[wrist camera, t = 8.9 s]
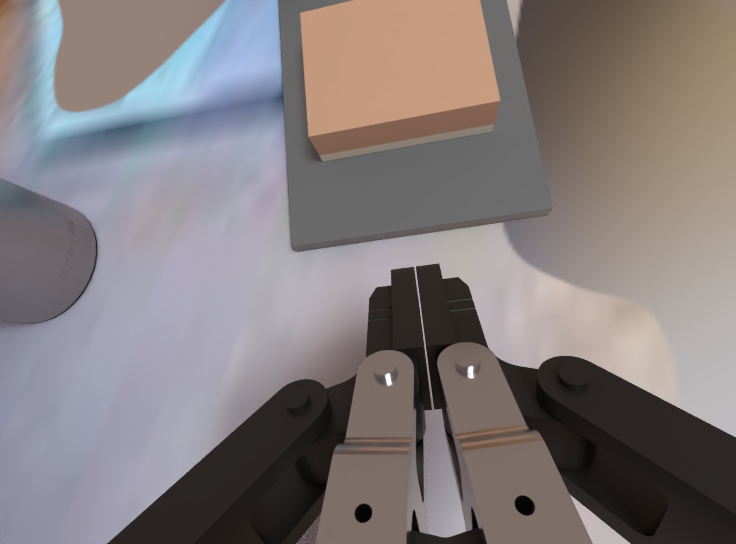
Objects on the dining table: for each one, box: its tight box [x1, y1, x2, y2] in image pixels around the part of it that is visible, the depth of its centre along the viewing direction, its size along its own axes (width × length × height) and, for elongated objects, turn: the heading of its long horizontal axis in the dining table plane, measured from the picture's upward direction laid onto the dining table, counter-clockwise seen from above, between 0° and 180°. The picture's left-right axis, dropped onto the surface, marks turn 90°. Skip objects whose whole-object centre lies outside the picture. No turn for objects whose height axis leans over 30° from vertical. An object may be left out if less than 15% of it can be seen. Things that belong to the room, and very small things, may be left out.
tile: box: [300, 0, 500, 162], centre depth 24 cm, size 11×3×9 cm
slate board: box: [279, 0, 552, 251], centre depth 26 cm, size 16×22×1 cm
